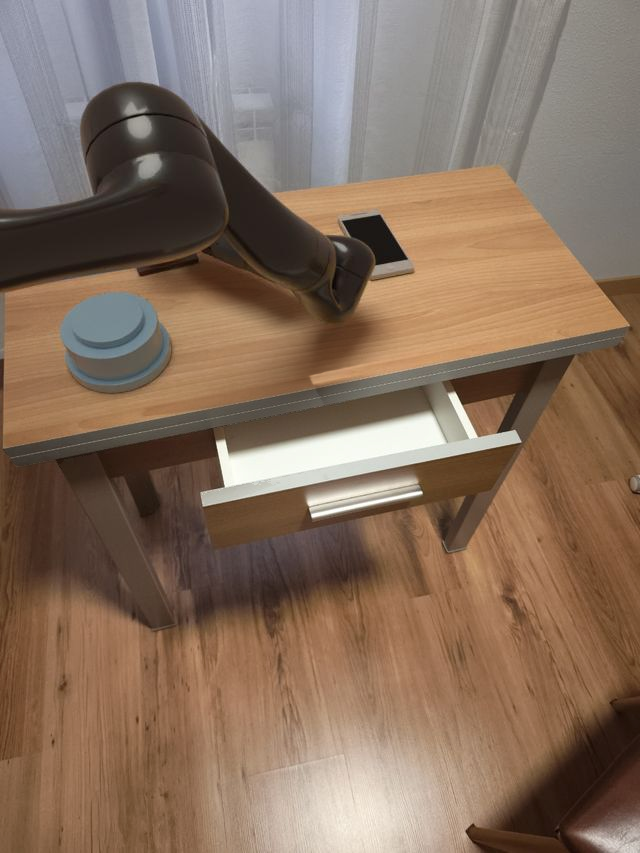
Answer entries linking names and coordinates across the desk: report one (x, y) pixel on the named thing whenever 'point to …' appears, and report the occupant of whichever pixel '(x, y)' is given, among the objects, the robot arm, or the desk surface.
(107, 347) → the blue stepped cylinder
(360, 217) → the smartphone
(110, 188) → the robot arm
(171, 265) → the coaster
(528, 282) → the desk surface
